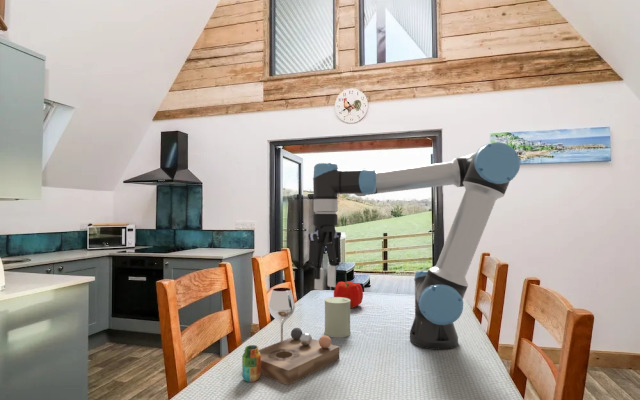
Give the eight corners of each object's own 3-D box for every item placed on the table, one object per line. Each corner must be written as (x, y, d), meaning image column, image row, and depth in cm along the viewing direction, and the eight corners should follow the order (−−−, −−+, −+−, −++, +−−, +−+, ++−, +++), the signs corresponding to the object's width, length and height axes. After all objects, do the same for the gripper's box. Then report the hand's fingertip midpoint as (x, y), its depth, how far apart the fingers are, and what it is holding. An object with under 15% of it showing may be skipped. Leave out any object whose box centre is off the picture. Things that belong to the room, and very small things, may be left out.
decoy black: (304, 339, 114) (304, 327, 114) (297, 342, 112) (297, 330, 112) (296, 336, 117) (296, 325, 117) (288, 339, 114) (288, 328, 114)
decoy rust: (333, 347, 107) (333, 335, 107) (326, 351, 105) (326, 338, 105) (324, 344, 110) (324, 332, 110) (316, 348, 107) (316, 335, 107)
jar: (261, 375, 98) (261, 343, 98) (259, 383, 93) (259, 350, 93) (243, 375, 98) (244, 344, 98) (240, 383, 93) (240, 350, 93)
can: (348, 338, 126) (348, 302, 126) (321, 336, 128) (322, 301, 128) (352, 329, 135) (352, 296, 135) (326, 328, 137) (326, 295, 137)
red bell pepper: (329, 303, 173) (329, 280, 174) (356, 301, 177) (356, 279, 178) (339, 311, 160) (339, 286, 161) (368, 308, 164) (368, 284, 165)
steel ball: (314, 345, 109) (314, 333, 109) (306, 348, 107) (306, 336, 107) (305, 342, 112) (305, 330, 112) (297, 345, 109) (297, 333, 109)
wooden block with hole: (339, 359, 108) (339, 346, 108) (288, 385, 92) (288, 370, 92) (298, 346, 118) (298, 334, 118) (245, 368, 102) (246, 354, 102)
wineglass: (270, 353, 112) (270, 292, 113) (266, 344, 120) (267, 287, 121) (297, 350, 115) (297, 291, 115) (291, 341, 123) (292, 286, 123)
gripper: (333, 212, 127) (333, 282, 126) (296, 213, 112) (295, 291, 112) (352, 213, 122) (352, 284, 121) (315, 213, 108) (315, 294, 107)
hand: (325, 287), depth 116 cm, fingers open, 6 cm apart
